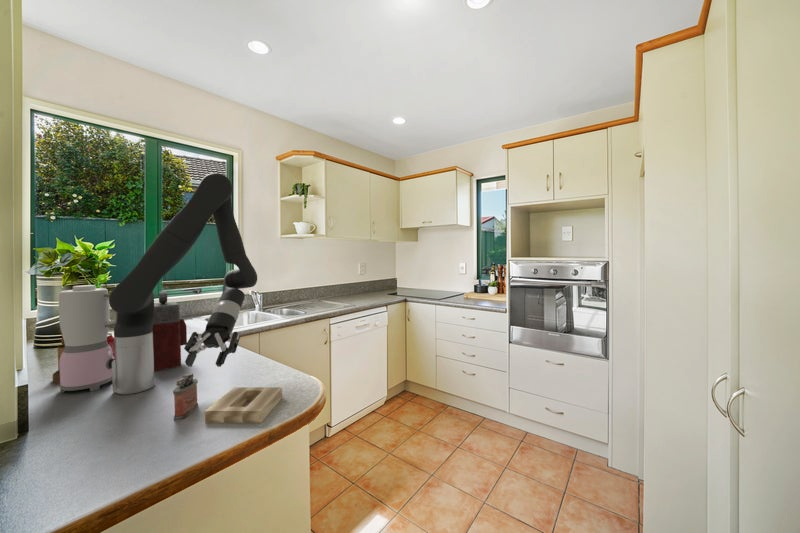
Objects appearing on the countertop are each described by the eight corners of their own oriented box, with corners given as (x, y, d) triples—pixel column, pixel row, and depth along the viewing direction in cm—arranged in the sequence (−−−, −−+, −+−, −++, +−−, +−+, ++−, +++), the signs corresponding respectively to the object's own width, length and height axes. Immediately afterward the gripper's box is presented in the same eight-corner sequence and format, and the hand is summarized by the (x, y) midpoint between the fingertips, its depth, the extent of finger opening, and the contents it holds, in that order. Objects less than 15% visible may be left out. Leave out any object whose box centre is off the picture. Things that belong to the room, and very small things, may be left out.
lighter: (188, 405, 89) (187, 370, 88) (201, 405, 89) (200, 369, 89) (170, 420, 81) (169, 381, 80) (184, 420, 81) (183, 381, 81)
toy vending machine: (188, 364, 122) (186, 291, 121) (151, 372, 114) (148, 293, 113) (184, 359, 128) (182, 289, 127) (149, 365, 121) (146, 291, 120)
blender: (48, 396, 95) (42, 288, 93) (78, 380, 106) (74, 284, 105) (111, 391, 98) (107, 287, 97) (134, 376, 110) (130, 283, 109)
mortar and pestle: (62, 383, 105) (60, 328, 104) (47, 381, 106) (44, 327, 105) (86, 375, 111) (84, 323, 110) (71, 374, 112) (69, 323, 112)
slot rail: (205, 422, 80) (204, 410, 80) (234, 397, 94) (234, 387, 94) (261, 422, 80) (260, 410, 80) (282, 397, 94) (282, 387, 94)
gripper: (196, 311, 100) (171, 359, 89) (241, 310, 100) (222, 359, 89) (207, 324, 106) (185, 371, 95) (250, 324, 106) (233, 371, 95)
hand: (203, 365), depth 92 cm, fingers open, 8 cm apart
